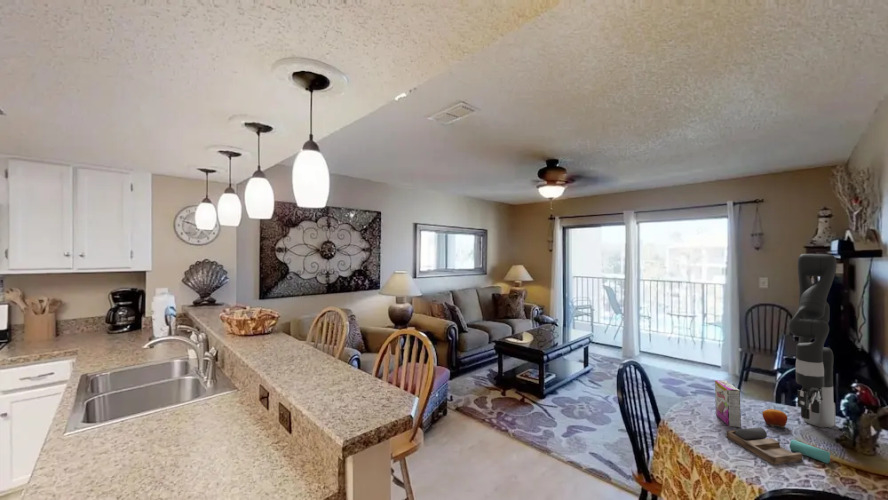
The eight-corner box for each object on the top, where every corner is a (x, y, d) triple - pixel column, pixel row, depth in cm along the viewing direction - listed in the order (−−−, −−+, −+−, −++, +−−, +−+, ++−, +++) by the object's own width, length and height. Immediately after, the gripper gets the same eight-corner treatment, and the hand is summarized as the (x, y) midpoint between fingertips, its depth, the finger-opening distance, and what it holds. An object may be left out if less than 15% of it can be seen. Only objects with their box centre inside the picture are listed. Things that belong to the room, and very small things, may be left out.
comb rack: (752, 434, 153) (752, 428, 153) (802, 460, 134) (802, 453, 134) (726, 437, 152) (726, 431, 152) (773, 464, 133) (773, 457, 133)
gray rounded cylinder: (757, 435, 151) (757, 425, 151) (767, 440, 147) (766, 429, 147) (735, 437, 149) (734, 427, 150) (744, 442, 146) (743, 432, 146)
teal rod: (792, 452, 142) (788, 446, 140) (795, 442, 143) (792, 437, 141) (828, 465, 133) (824, 460, 131) (831, 455, 134) (828, 450, 133)
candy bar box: (715, 415, 171) (714, 379, 170) (727, 415, 170) (726, 380, 169) (728, 427, 160) (727, 389, 159) (741, 427, 159) (740, 389, 158)
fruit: (769, 426, 156) (764, 406, 160) (762, 428, 162) (758, 409, 166) (794, 429, 153) (788, 409, 156) (786, 431, 159) (781, 411, 163)
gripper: (804, 365, 144) (805, 407, 144) (787, 372, 137) (788, 416, 138) (831, 371, 137) (832, 414, 137) (815, 379, 131) (816, 424, 131)
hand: (810, 415), depth 138 cm, fingers open, 8 cm apart
